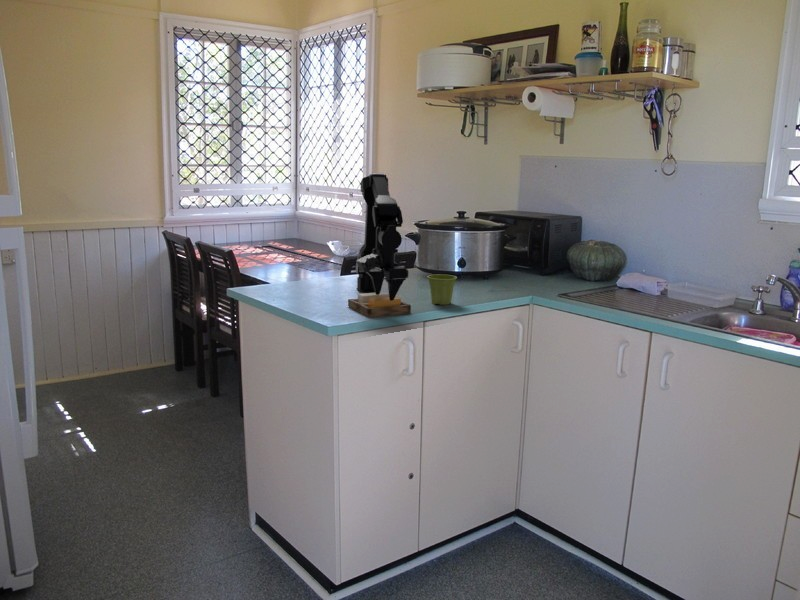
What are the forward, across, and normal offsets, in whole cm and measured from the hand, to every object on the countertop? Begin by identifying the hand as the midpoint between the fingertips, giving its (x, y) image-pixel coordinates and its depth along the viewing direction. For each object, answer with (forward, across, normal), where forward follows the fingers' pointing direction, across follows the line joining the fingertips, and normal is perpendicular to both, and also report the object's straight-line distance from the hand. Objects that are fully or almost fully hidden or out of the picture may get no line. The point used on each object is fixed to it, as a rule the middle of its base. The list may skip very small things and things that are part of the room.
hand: (384, 297), depth 199 cm
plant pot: (+5, -5, +23) cm, 24 cm away
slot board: (+5, -4, 0) cm, 6 cm away
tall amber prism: (+4, 0, 0) cm, 4 cm away
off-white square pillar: (+4, -7, 0) cm, 8 cm away
